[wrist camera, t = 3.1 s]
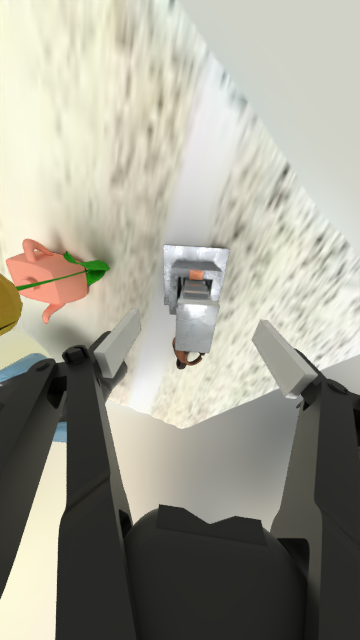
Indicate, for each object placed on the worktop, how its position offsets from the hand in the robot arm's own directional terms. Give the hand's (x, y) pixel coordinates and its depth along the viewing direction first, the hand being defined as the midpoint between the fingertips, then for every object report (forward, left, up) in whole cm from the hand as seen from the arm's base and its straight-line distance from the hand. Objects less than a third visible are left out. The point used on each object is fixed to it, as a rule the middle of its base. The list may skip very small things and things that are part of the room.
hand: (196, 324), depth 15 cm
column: (0, 0, -20) cm, 20 cm away
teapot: (-33, -2, -22) cm, 40 cm away
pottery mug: (0, -22, -22) cm, 31 cm away
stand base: (0, 0, -21) cm, 21 cm away
